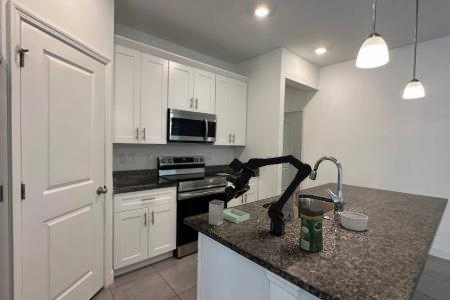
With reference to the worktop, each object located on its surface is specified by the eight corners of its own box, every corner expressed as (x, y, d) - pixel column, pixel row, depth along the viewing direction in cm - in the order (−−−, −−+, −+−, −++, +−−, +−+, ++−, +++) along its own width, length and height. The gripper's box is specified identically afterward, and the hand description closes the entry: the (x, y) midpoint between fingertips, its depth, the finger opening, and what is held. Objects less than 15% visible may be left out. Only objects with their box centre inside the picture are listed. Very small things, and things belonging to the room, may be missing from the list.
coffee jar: (310, 242, 98) (312, 202, 98) (326, 249, 91) (327, 206, 90) (295, 246, 94) (296, 204, 93) (309, 254, 86) (311, 209, 86)
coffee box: (288, 215, 136) (289, 190, 136) (298, 217, 132) (299, 191, 132) (282, 219, 129) (283, 192, 128) (293, 221, 125) (293, 194, 124)
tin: (223, 222, 120) (224, 201, 120) (218, 225, 115) (218, 203, 114) (214, 220, 123) (214, 199, 123) (208, 223, 117) (209, 202, 117)
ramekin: (340, 221, 127) (340, 210, 127) (366, 226, 121) (367, 214, 120) (339, 228, 116) (339, 215, 116) (368, 234, 109) (368, 220, 109)
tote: (249, 219, 126) (249, 214, 126) (236, 223, 119) (236, 218, 119) (231, 212, 137) (231, 208, 137) (218, 216, 130) (218, 211, 130)
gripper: (241, 167, 124) (229, 187, 130) (223, 171, 109) (210, 194, 114) (256, 179, 120) (243, 199, 125) (239, 185, 104) (225, 208, 109)
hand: (230, 200), depth 118 cm, fingers open, 9 cm apart
